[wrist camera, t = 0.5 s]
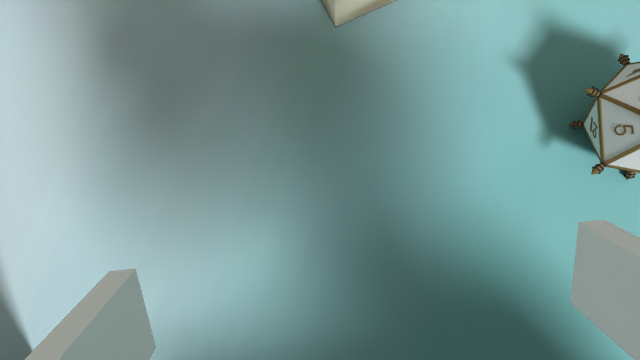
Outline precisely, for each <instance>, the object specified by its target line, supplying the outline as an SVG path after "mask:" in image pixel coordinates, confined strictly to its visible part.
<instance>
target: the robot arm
mask: <svg viewBox="0 0 640 360" xmlns="http://www.w3.org/2000/svg"><path fill="white" fill-rule="evenodd" d="M570 303H571V304H572V305H573V306H574V307H575V308H577V309H578V310H579V311H580V312H581V313H582V314H583V315H584V316H586V317H587V318H588V319H589V320H590V321H591V322H592V323H593V324H595V325H596V326H597V327H598V328H599V329H600V330H601V331H603V332H604V333H605V334H606V335H607V336H608V337H609V338H610V339H612V340H613V341H614V342H615V343H616V344H617V345H618V346H619V347H621V348H622V349H623V350H624V351H625V352H626V353H627V354H629V355H630V356H631V357H632V358H633V359H634V360H640V238H639V237H637V236H635V235H633V234H631V233H629V232H627V231H625V230H623V229H621V228H619V227H617V226H615V225H613V224H611V223H609V222H607V221H605V220H598V221H588V222H579V223H578V233H577V243H576V252H575V262H574V272H573V282H572V292H571V301H570ZM155 348H156V346H155V342H154V338H153V334H152V330H151V326H150V323H149V319H148V315H147V311H146V307H145V303H144V299H143V296H142V292H141V288H140V284H139V280H138V276H137V273H136V269H128V270H118V271H109V272H108V273H107V274H106V275H105V276H104V277H103V279H102V280H101V281H100V282H99V283H98V284H97V285H96V286H95V287H94V288H93V289H92V290H91V291H90V292H89V293H88V294H87V295H86V296H85V297H84V298H83V299H82V300H81V301H80V302H79V303H78V304H77V305H76V307H75V308H74V309H73V310H72V311H71V312H70V313H69V314H68V315H67V316H66V317H65V318H64V319H63V320H62V321H61V322H60V323H59V324H58V325H57V326H56V327H55V328H54V329H53V330H52V331H51V332H50V333H49V335H48V336H47V337H46V338H45V339H44V340H43V341H42V342H41V343H40V344H39V345H38V346H37V347H36V348H35V349H34V350H33V351H32V352H31V353H30V354H29V355H28V356H27V357H26V358H25V359H24V360H149V359H150V357H151V355H152V353H153V351H154V349H155Z"/></svg>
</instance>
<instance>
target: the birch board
mask: <svg viewBox="0 0 640 360" xmlns="http://www.w3.org/2000/svg"><path fill="white" fill-rule="evenodd" d="M393 1H395V0H322V2H323V4H324V6H325V8H326V10H327V12H328V13H329V15H330V17H331V19H332V21H333V23H334V25H335V27H336V26H339V25H341V24H343V23H346V22H348V21H350V20H352V19H355V18H357V17H359V16H361V15H364V14H366V13H368V12H370V11H373V10H375V9H377V8H380V7H382V6H384V5H386V4H389V3H391V2H393Z"/></svg>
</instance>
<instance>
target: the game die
mask: <svg viewBox="0 0 640 360" xmlns="http://www.w3.org/2000/svg"><path fill="white" fill-rule="evenodd" d="M629 60H630V58H628V55H627V56H626V55H623V54H620V57H619V59H618V61H620V64H622V65H623V67H622V68H621V70H620V71H619V72H618V73H617V74H616V75H615V76H614V77H613V78H612V79H611V80H610V81H609V82H608V83H607V84H606V85H605V86H604V87H603V88H602V90H601V91H599V90H598V89H597V88H596V89H595V88H594V87H592V88H587V89H585V90H586V92H587V95H588V96H589V95H590V96H591V97H595V96H596V97H595V99H594V101H593V103H592V105H591V107H590V109H589V111H588V113H587V115H586V117H585V119H584V121H583V122H581V121H578V122H577V121H574V122H573V123H572V124H570V126H572V127H573V128H574V129H576V128H578V129H579V128H580V127H584V129H585V131H586V133H587V135H588V137H589V139H590V141H591V143H592V146H593V148H594V150H595V152H596V154H597V156H598V158H599V160H600V162H601V163H600V164H596V166H594V167H592V168H593V169H592V174H600V173H601V171H603V170H604V167H610V168H616V169H621V170H627V172H626V174H625V175H624V176H626V178H627V180H628V179H630V178H634V177H635V176H634V175H636V174H635V172H638V173H640V62H635V63H630V62H629ZM592 174H591V175H592Z"/></svg>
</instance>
